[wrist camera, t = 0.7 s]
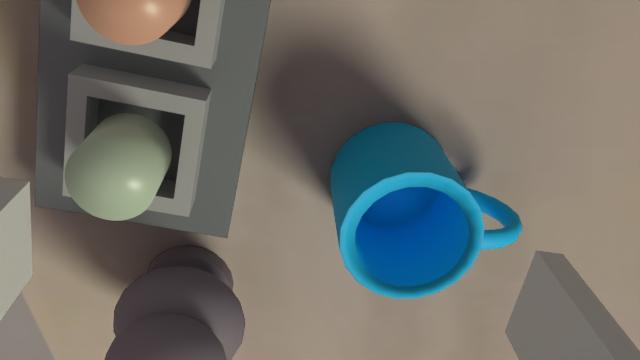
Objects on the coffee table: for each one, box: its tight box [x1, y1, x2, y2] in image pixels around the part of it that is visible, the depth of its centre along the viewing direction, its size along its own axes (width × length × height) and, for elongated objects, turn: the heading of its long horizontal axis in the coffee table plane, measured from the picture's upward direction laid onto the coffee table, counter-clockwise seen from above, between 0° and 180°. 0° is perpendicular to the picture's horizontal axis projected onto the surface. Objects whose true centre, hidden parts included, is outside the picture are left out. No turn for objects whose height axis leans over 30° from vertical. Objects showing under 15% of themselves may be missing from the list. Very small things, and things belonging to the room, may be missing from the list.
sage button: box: [64, 113, 172, 221], centre depth 30 cm, size 4×4×4 cm
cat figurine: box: [105, 246, 245, 360], centre depth 37 cm, size 8×8×12 cm
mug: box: [330, 123, 522, 298], centre depth 36 cm, size 12×8×8 cm
